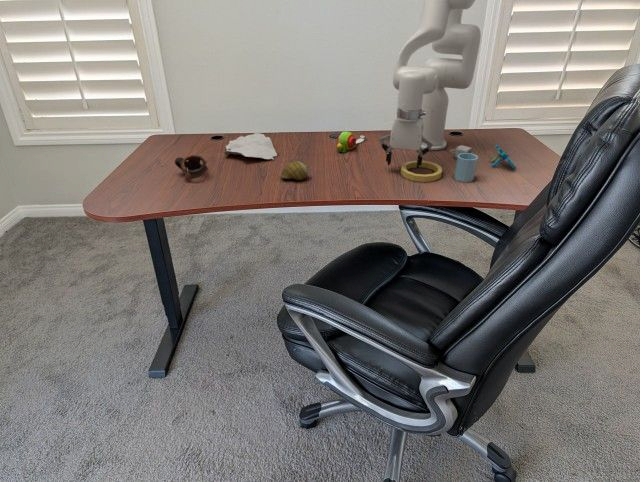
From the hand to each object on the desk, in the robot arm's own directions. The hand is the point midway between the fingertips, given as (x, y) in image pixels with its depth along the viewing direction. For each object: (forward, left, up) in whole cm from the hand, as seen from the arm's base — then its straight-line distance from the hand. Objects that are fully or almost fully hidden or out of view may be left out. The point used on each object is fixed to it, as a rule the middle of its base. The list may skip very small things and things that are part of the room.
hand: (403, 165), depth 143 cm
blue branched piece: (+21, +29, -3) cm, 36 cm away
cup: (+17, +11, -3) cm, 20 cm away
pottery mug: (-48, -52, -3) cm, 71 cm away
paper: (-52, -26, -3) cm, 58 cm away
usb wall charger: (+6, +26, -3) cm, 26 cm away
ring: (+5, +4, -3) cm, 7 cm away
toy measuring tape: (-30, +6, -3) cm, 31 cm away
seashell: (-22, -29, -3) cm, 37 cm away
